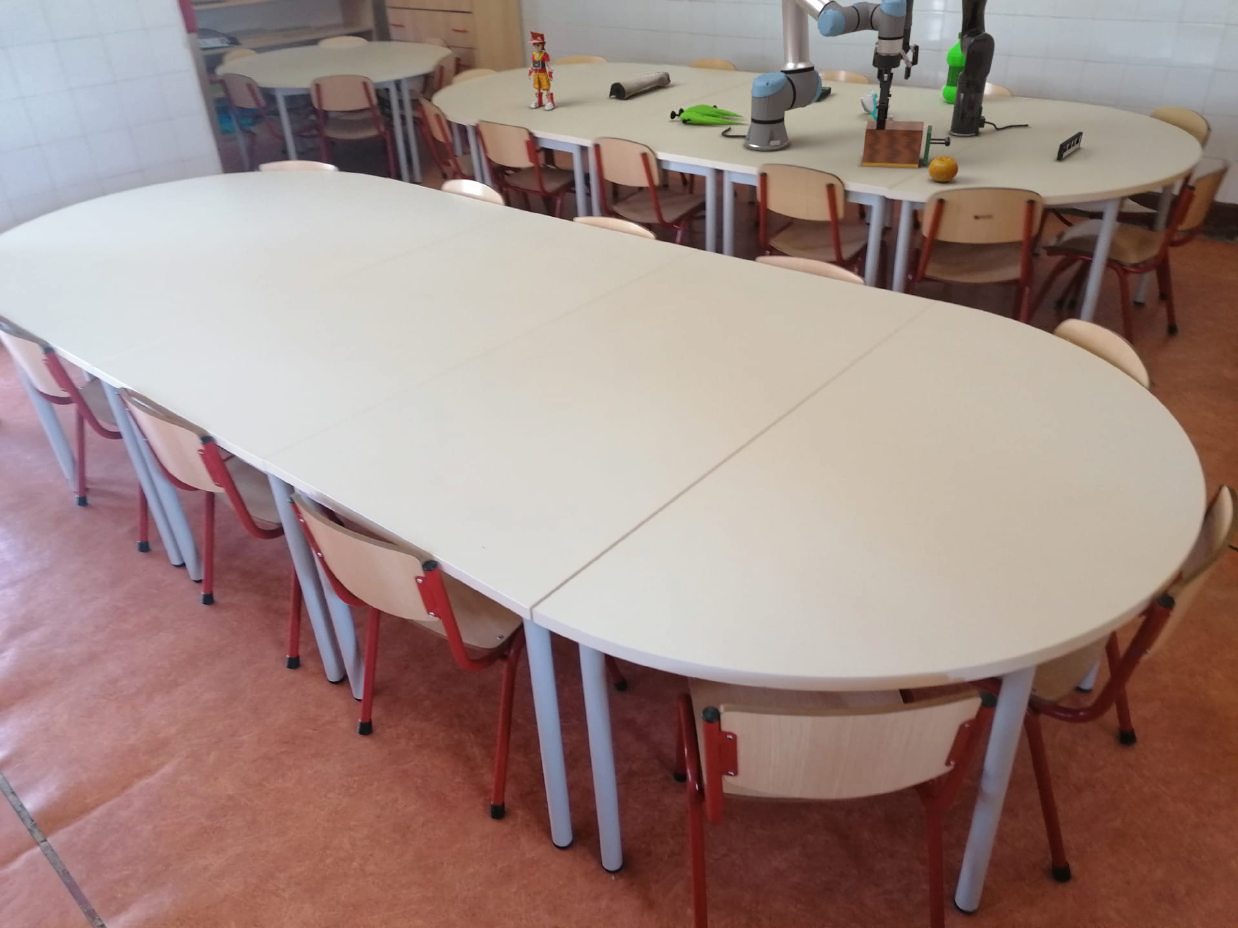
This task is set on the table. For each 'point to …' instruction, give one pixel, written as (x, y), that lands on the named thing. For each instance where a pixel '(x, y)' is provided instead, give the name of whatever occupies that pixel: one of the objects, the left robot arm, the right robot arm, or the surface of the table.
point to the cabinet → (893, 144)
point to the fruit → (943, 169)
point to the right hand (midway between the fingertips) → (893, 80)
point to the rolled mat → (638, 84)
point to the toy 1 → (541, 71)
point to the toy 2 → (704, 115)
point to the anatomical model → (872, 105)
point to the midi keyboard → (1069, 145)
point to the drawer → (928, 139)
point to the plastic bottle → (953, 71)
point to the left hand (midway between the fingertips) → (881, 124)
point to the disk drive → (824, 92)
